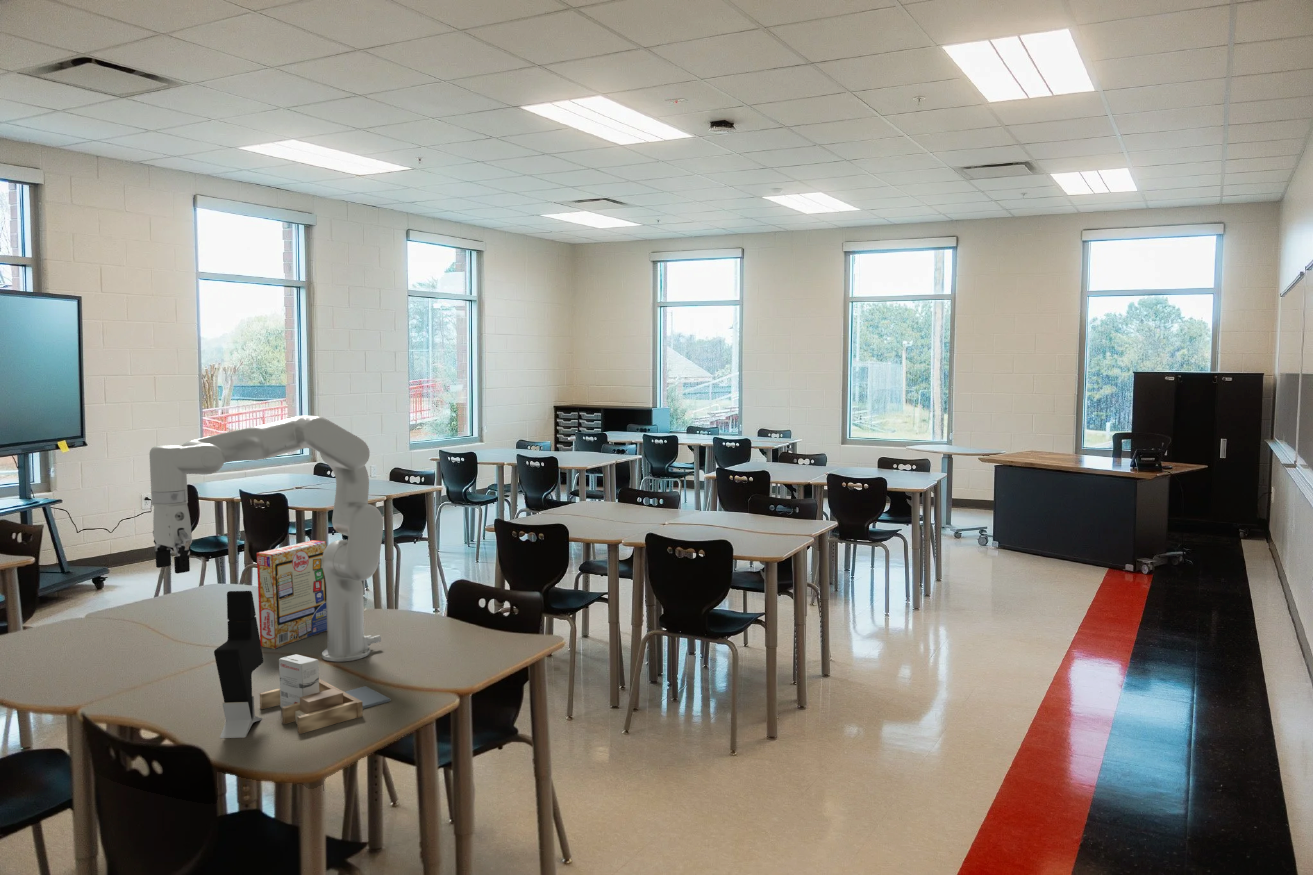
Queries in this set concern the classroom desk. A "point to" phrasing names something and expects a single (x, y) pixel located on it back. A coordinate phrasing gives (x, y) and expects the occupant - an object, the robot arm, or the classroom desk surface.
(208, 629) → the classroom desk surface
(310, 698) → the offcut
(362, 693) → the mat
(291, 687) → the ink box
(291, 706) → the rack
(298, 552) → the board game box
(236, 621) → the award
